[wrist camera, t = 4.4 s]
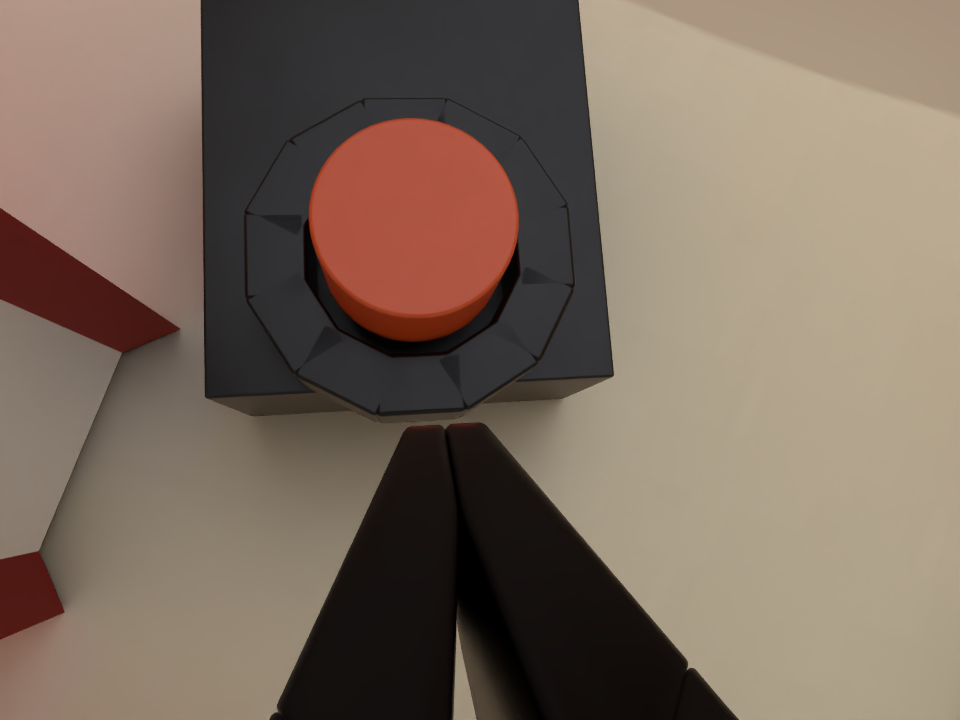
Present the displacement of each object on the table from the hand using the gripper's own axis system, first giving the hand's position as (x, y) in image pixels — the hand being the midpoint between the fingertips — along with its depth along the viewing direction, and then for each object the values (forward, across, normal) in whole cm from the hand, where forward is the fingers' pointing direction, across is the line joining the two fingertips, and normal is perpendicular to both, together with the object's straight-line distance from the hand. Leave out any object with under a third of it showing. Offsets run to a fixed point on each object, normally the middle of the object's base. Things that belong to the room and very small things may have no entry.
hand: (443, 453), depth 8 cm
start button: (+7, 0, +2) cm, 8 cm away
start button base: (+14, 0, +4) cm, 15 cm away
